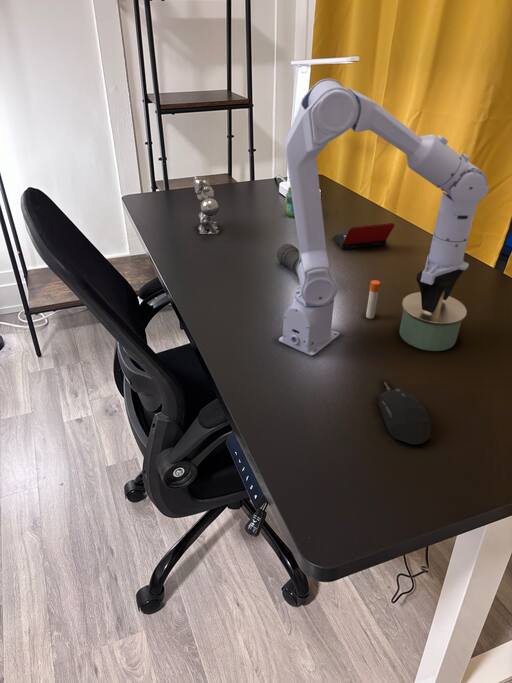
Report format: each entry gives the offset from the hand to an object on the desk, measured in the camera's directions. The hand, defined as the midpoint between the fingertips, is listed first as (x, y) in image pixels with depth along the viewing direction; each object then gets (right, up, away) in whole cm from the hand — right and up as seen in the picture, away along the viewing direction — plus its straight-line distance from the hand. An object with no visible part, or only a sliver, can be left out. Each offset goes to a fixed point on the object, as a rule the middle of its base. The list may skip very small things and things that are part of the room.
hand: (434, 304), depth 94 cm
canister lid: (0, -1, +1) cm, 1 cm away
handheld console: (-5, +19, +40) cm, 44 cm away
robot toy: (-47, +23, +47) cm, 70 cm away
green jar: (-22, +31, +58) cm, 69 cm away
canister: (0, -6, +4) cm, 7 cm away
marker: (-10, -2, +10) cm, 14 cm away
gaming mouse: (-11, -18, -14) cm, 26 cm away
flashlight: (-23, +9, +25) cm, 35 cm away
